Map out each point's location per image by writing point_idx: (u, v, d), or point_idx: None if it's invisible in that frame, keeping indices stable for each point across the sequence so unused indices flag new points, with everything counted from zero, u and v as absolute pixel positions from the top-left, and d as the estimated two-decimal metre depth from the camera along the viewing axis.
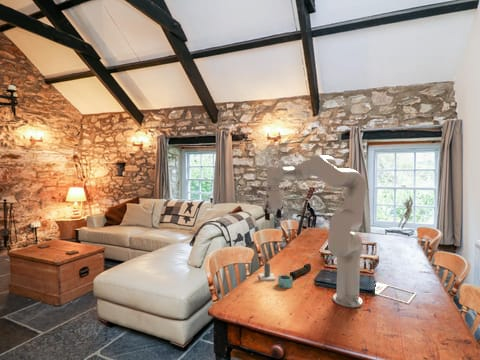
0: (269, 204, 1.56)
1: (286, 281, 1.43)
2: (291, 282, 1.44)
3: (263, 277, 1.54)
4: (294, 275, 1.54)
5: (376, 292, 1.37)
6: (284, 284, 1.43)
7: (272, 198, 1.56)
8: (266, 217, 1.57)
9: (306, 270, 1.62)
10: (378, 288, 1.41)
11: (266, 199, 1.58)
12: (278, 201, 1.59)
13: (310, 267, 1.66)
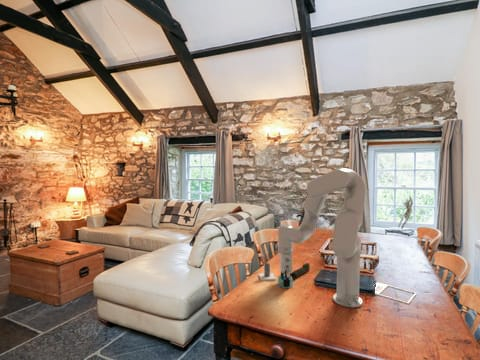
0: (290, 268, 1.41)
1: None
2: (291, 282, 1.44)
3: (263, 277, 1.54)
4: (295, 275, 1.54)
5: (376, 292, 1.37)
6: None
7: None
8: (287, 284, 1.41)
9: (305, 270, 1.63)
10: (378, 288, 1.41)
11: (285, 263, 1.41)
12: None
13: (309, 267, 1.67)
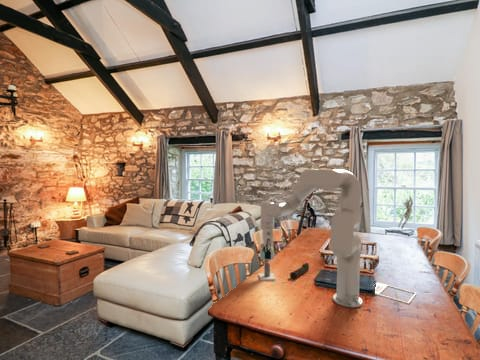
0: (271, 241, 1.50)
1: None
2: (272, 255, 1.54)
3: (263, 277, 1.54)
4: (295, 275, 1.54)
5: (376, 292, 1.37)
6: None
7: None
8: (268, 256, 1.51)
9: (305, 270, 1.63)
10: (378, 288, 1.41)
11: (267, 237, 1.50)
12: None
13: (308, 266, 1.67)
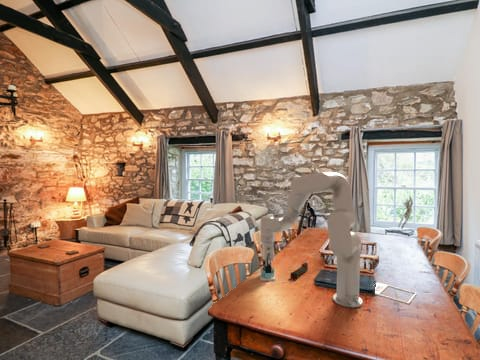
0: (271, 256, 1.50)
1: None
2: (272, 273, 1.54)
3: None
4: (295, 275, 1.53)
5: (376, 292, 1.37)
6: (266, 275, 1.52)
7: None
8: (268, 270, 1.50)
9: (304, 269, 1.63)
10: (378, 288, 1.41)
11: (267, 251, 1.50)
12: None
13: (307, 266, 1.68)
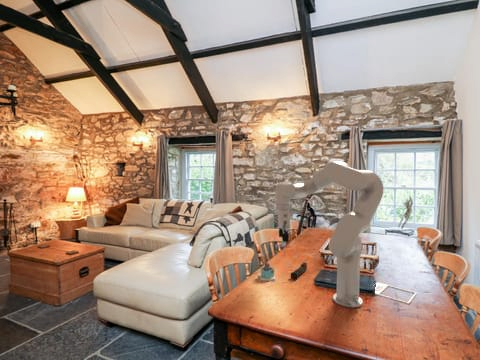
0: (288, 223, 1.47)
1: (268, 272, 1.52)
2: (272, 273, 1.54)
3: None
4: (296, 275, 1.53)
5: (376, 292, 1.37)
6: (266, 275, 1.52)
7: (289, 217, 1.48)
8: (286, 238, 1.46)
9: (304, 269, 1.63)
10: (378, 288, 1.41)
11: (283, 219, 1.47)
12: None
13: (306, 266, 1.68)
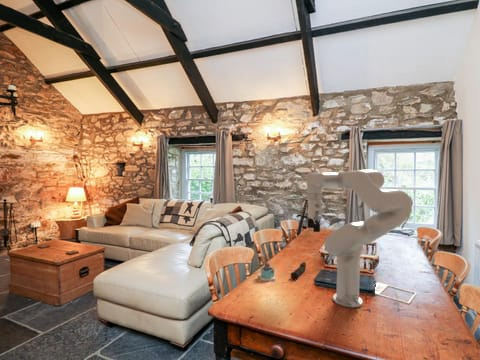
0: (320, 214, 1.42)
1: (268, 272, 1.52)
2: (272, 273, 1.54)
3: None
4: (296, 275, 1.53)
5: (376, 292, 1.37)
6: (266, 275, 1.52)
7: None
8: (317, 229, 1.42)
9: (303, 269, 1.64)
10: (378, 288, 1.41)
11: (315, 209, 1.42)
12: None
13: (305, 266, 1.68)
